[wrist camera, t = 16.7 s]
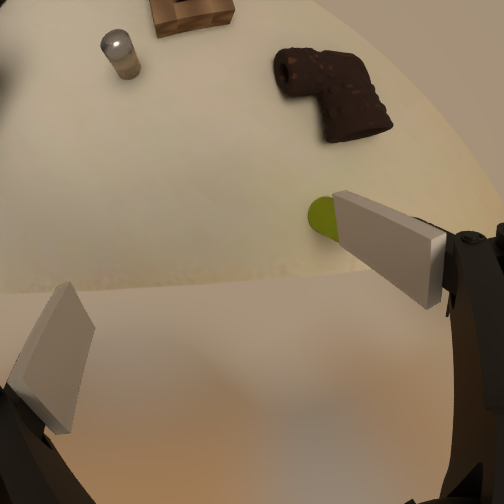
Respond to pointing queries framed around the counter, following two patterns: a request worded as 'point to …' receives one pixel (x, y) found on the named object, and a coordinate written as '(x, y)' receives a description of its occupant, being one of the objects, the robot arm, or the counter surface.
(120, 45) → the cylinder
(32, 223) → the counter surface
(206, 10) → the socket block
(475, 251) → the robot arm
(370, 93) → the pipe
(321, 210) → the soap dispenser
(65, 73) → the counter surface
